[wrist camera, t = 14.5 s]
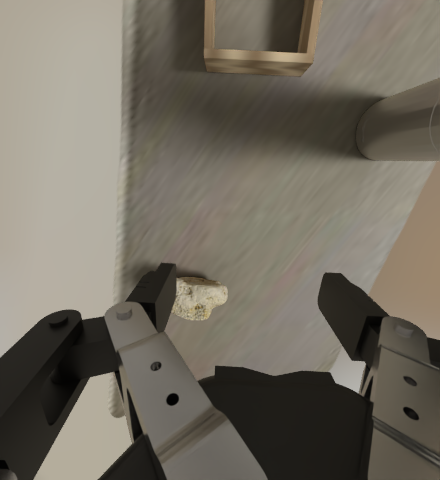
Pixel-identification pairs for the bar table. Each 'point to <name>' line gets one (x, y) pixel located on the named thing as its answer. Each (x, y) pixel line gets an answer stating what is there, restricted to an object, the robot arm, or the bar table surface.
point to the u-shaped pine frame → (262, 59)
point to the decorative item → (197, 297)
